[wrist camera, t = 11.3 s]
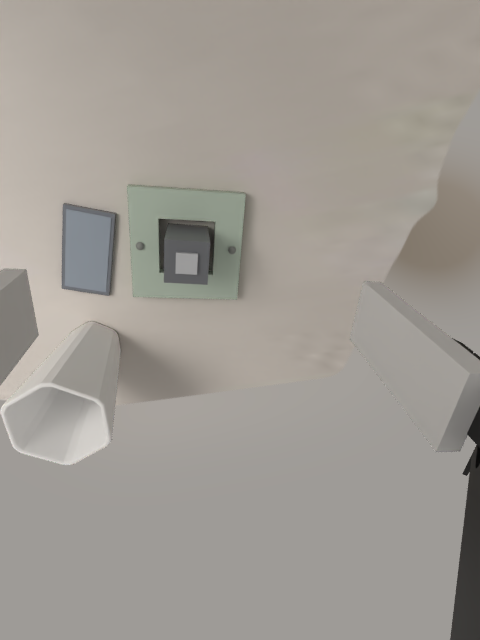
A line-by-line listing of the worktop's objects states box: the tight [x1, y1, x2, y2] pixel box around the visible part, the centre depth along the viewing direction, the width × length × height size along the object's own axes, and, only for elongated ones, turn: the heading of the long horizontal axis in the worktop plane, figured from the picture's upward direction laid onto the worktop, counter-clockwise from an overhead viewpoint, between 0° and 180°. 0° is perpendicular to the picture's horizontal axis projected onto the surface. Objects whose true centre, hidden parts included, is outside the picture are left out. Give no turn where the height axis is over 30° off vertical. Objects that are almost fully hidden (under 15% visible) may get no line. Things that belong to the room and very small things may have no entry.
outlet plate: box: [127, 185, 246, 300], centre depth 48 cm, size 14×14×2 cm
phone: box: [62, 203, 116, 296], centre depth 47 cm, size 11×6×1 cm, turn 167°
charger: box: [164, 223, 210, 285], centre depth 45 cm, size 5×5×8 cm
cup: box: [0, 322, 121, 465], centre depth 46 cm, size 11×10×17 cm
